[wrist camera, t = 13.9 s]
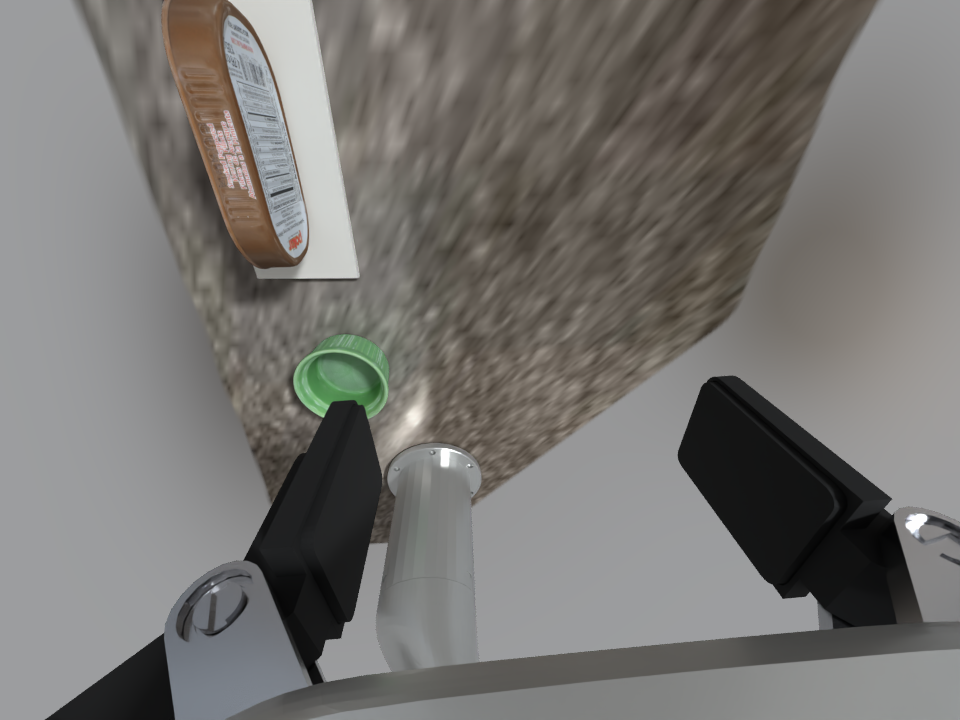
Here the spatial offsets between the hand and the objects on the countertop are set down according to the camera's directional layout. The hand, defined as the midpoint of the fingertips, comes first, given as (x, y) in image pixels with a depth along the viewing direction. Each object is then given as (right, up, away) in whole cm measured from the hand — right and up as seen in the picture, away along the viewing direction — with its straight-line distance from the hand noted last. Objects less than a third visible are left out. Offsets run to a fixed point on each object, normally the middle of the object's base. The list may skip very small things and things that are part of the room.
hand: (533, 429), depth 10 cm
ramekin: (-15, +2, +28) cm, 32 cm away
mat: (-17, +18, +17) cm, 30 cm away
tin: (-17, +18, +17) cm, 30 cm away
